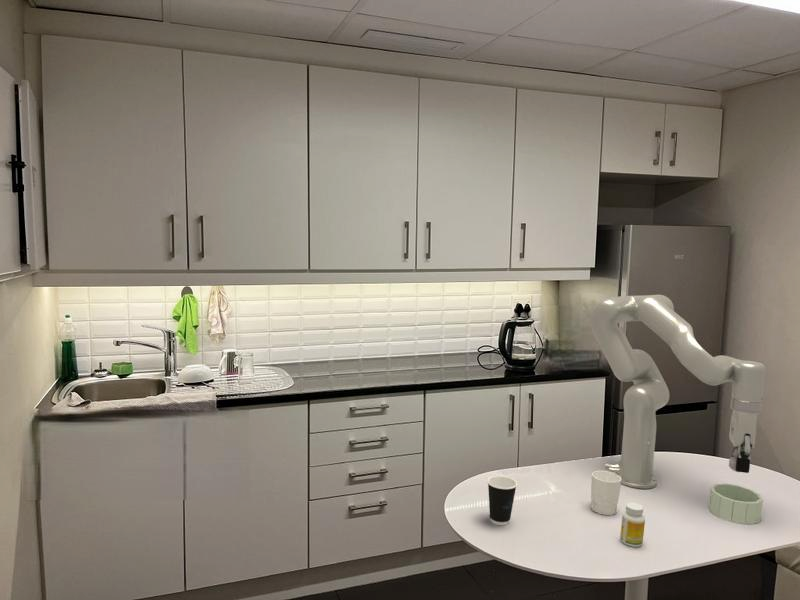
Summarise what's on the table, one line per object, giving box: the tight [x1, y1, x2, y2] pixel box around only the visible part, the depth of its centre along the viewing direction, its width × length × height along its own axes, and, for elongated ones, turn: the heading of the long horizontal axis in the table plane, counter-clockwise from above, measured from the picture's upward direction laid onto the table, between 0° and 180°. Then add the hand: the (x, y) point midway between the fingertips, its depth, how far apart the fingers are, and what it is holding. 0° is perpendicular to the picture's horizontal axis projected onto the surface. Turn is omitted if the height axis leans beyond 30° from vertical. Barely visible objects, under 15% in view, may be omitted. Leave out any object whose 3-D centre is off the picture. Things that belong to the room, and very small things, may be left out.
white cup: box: [590, 470, 622, 516], centre depth 168 cm, size 8×8×10 cm
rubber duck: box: [728, 447, 752, 473], centre depth 168 cm, size 5×7×8 cm
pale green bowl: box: [708, 483, 764, 525], centre depth 170 cm, size 13×13×6 cm
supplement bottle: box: [619, 502, 646, 548], centre depth 151 cm, size 5×5×10 cm
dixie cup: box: [486, 475, 518, 526], centre depth 159 cm, size 8×8×11 cm
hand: (740, 467), depth 169 cm, fingers closed on rubber duck, 5 cm apart
